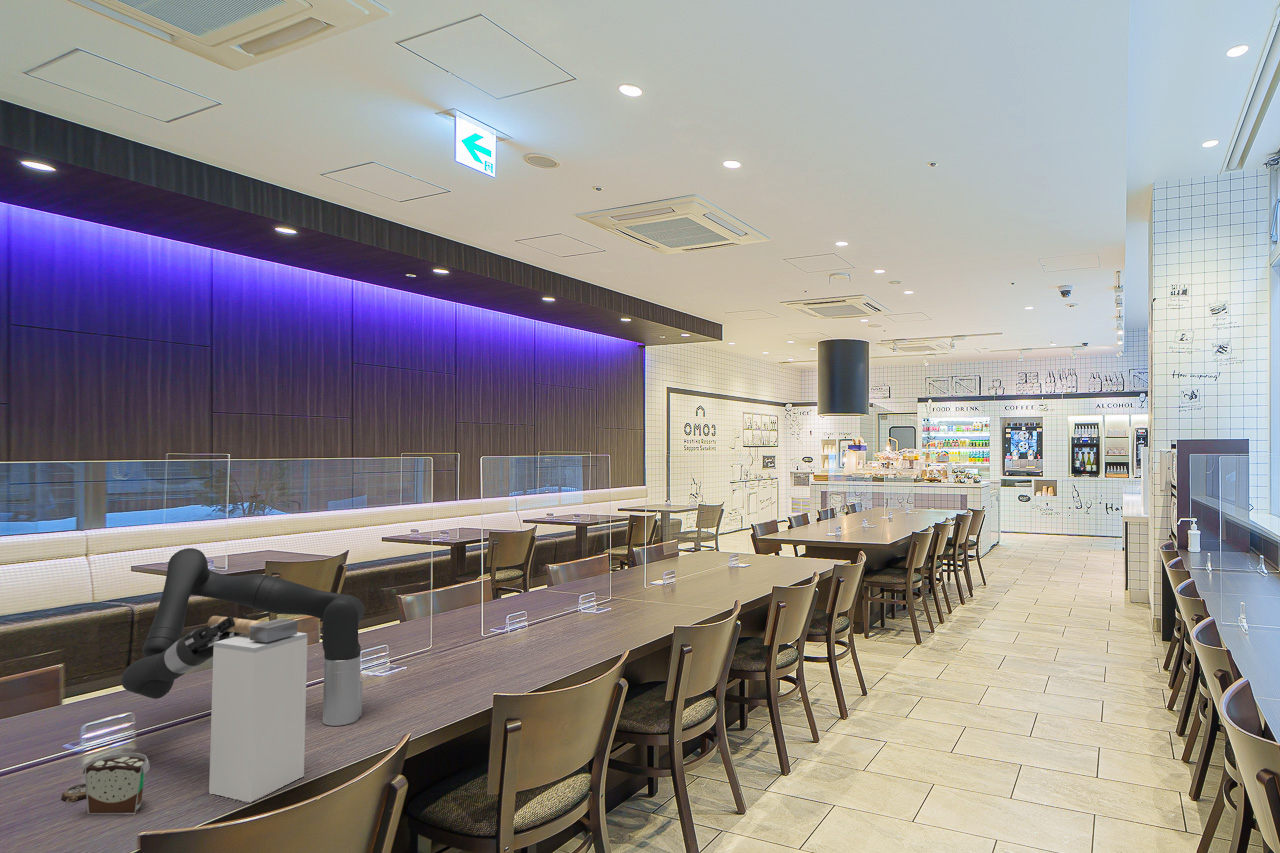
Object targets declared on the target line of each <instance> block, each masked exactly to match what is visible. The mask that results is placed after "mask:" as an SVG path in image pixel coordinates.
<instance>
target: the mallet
mask: <svg viewBox="0 0 1280 853" xmlns="http://www.w3.org/2000/svg"><path fill="white" fill-rule="evenodd" d="M228 617H229V616H221V615H212V616H211V617H209V619H208V621H207V626H213V625H215V624H218V623H220V622H222V621H223V620H225V619H226V618H228ZM233 619H234V622H235V625H234V626H233V627H231V628H230V629H229V630H227V631H229V632H237V633H241V634H243V635H244V634H250V640H253V641H260V642H270V641H274V640H278V639H281V638H285V637H288V636H292V635H296V634H297V632H298V620H296V619H288V618H277V619H273V620H269V621H262V620H254V619H253V620H252V619H248V620H246V619H238V618H237V617H233Z"/></svg>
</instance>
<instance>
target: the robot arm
mask: <svg viewBox="0 0 1280 853" xmlns="http://www.w3.org/2000/svg"><path fill="white" fill-rule="evenodd" d="M166 569H167V570H166V576H165V582H164V587H163V590H162V595H161V598H160V599H159V600H160V601H159V604H158V607H157V610H156V613H155V615H154V617H153V621H152V623H151V625H150V628H149V631H148V634H147V636H146V638H145V642H144V643H143V647H142V655H143V656H144V657H142V658H140V659H138V660H135V661H134V662H132V663H131V664H130V665H129V666H127V667H126V669H125V670H124V672H123V673H122V676H121V682H120V683H121V687H122V688H123V689H124V690H126V691H128V692H131V693H133V694H137V695H139V696H143V697H146V698H151V699H153V700H157V699H160V698H163V697H165V696H166V695H167V694H168V693H169V692H170V690H172V687H173V685H174V683H175V680H176V679H178V678H180V677H181V676H183V675H185V674H186V673H188V672H190V671H192V670H194V669H196V668H197V667H199V666H201V665H202V664H203V663H205V662H207V661H208V660H209V659H211V658H213V648H214V642H217V641H221V640H225V639H229V638H233V637H237V636H241V635H242V633H237V632H229V631H227V630H229V629H230V628H231V627H233V626H234V625H235V622H234V619H233V618H234V617H233V616H227V617H228V618H226V619H225V620H223V621H222V622H220V623H218V624H215V625H213V626H208V625H207V626H206V627H198V628H195V629H193V630H191V631H190V632H188V633H187V634H185V635H184V636H182V634H183V631H184V627H185V622H186V616H187V610H188V609H187V608H188V604H189V601H190V596H196V597H202V598H203V597H204V598H210V599H211V598H212V599H216V600H221V601H223V602H224V601H225V602H228V603H232V604H237V605H241V606H245V607H248V608H252V609H256V610H259V611H263V612H267V613H272V614H279V615H299V616H301V615H302V616H310V617H314V618H318V619H321V620H322V621H321V622H322V625H321V626H322V627H321V629H322V635H321V636H322V637H321V638H322V639H321V640H322V642H321V643H322V650H323V653H324V654H323V655H324V656H323V657H324V658H323V661H324V662H323V663H324V664H323V691H322V692H323V694H322V695H323V696H322V697H323V698H322V699H323V701H322V702H323V703H322V724H324V725H325V726H335V727H337V726H339V727H340V726H344V725H349V724H352V723H355V722H357V721H358V720H359V719H360V717H362V711H363V681H362V680H361V652H362V651H361V650H362V648H361V644H360V643H359V624H360V622H361V620H362V619H363V617H364V615H365V606H364V604H363V602H362V601H361V600H360V599H359V598H358V597H356V596H353V595H350V594H343V593H338V592H332V591H331V592H330V591H324V590H319V589H316V588H313V587H309V586H307V585H304V584H301V583H300V584H299V583H298V582H294V581H290V580H287V579H284V578H279V577H276V576H272V575H269V574H263V573H252V574H245V575H237V576H235V575H227V574H223V573H220V572H216V571H214V570H211V569H209V564H208V560H207V557H206V556H205V554H204V552H203V551H201V550H200V549H198V548H194V547H192V548H191V547H189V548H184V549H181V550H178V551H177V552H174V553H173V555H172V556H171V557H170V558H169V561H168V563H167V568H166ZM236 618H238V619H246V620H249V617H248V615H247V613H242V614H240V615H238V616H237V617H236Z"/></svg>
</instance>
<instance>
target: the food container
mask: <svg viewBox="0 0 1280 853" xmlns="http://www.w3.org/2000/svg"><path fill="white" fill-rule="evenodd" d="M149 770H150V762H149V759H148V757H147V755H145V753H144V754H143V753H139V752H124V753H115V754H109V755H106V756H101V757H99V758H95V759H93V760H91V761H88V762H86V763H84V766H83V768H82V771H81V775H84V777H85V778H84V780H85V784H86V796H87V798H86V808H87V810H86V811H87V815H88V814H123V815H126V814H125V813H136V812H137V811H138V810H139V809H140V810H141V806H142V799H143V793H144V792H143V791H144V784H145V778H146V777H145V776H146V773H147V772H149ZM140 810H139V811H140ZM136 814H137V813H136Z"/></svg>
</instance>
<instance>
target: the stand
mask: <svg viewBox="0 0 1280 853" xmlns="http://www.w3.org/2000/svg"><path fill="white" fill-rule="evenodd" d="M308 636H309V635H308V633H306V632H299V631H297V634H296V635H292V636H288V637H285V638H281V639H278V640H274V641H270V642H260V641H253V640H250V634H244V633H243V634H241V635H239V636H237V637H235V636H232V637H230V638H229V639H225V640H221V641H217V642H214V648H213V657H212V680H211V681H212V682H211V683H212V687H211V688H212V689H211V712H210V713H211V717H210V748H209V750H210V751H209V753H210V754H209V782H208V783H209V784H208V786H209V788H208V794H209V793H210V794H209V795H211V794H216V795H221V796H225V797H230V798H233V799H239V800H242V801H249V802H251V801H253V800H255V799H257V798H259V797H261V796H263V795H265V794H267V793H269V792H271V791H274V790H276V789H278V788H281V787H283V786H284V785H287V784H289V783H290V782H293V781H295V780H297V779H299V778H301V777H303V776H304V777H305V746H306V744H305V743H306V741H305V740H306V714H307V713H306V710H307V709H306V708H307V707H306V706H307V705H306V704H307V703H306V701H307V675H308V674H307V670H308V668H307V667H308V662H307V661H308Z"/></svg>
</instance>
